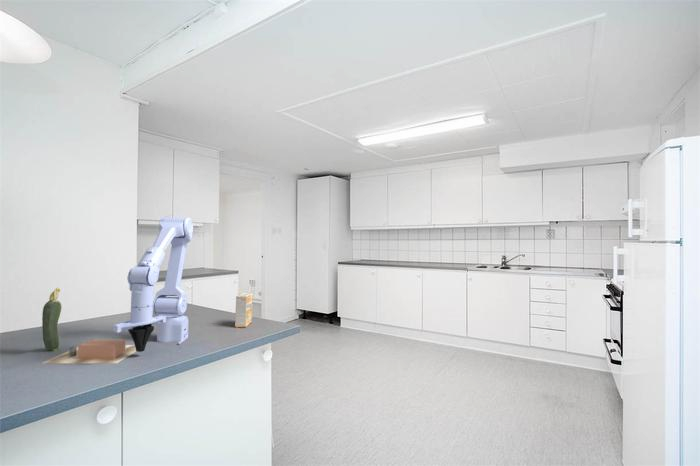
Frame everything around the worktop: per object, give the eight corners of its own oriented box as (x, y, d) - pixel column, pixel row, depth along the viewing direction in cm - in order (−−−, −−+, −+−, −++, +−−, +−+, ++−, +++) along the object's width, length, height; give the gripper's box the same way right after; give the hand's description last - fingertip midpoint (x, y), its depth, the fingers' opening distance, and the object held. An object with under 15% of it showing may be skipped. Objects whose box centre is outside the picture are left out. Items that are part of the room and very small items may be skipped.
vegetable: (43, 356, 101) (46, 289, 101) (38, 353, 103) (41, 288, 103) (61, 352, 104) (64, 288, 105) (56, 349, 107) (59, 286, 107)
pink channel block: (125, 352, 103) (125, 339, 103) (113, 359, 98) (114, 345, 98) (91, 352, 103) (92, 339, 103) (77, 358, 97) (78, 345, 97)
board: (146, 347, 111) (146, 337, 111) (116, 365, 95) (117, 354, 95) (82, 347, 109) (82, 337, 109) (41, 366, 93) (41, 354, 93)
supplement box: (246, 328, 138) (247, 296, 138) (234, 327, 138) (235, 295, 138) (252, 323, 146) (253, 293, 146) (241, 322, 146) (242, 292, 146)
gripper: (157, 300, 110) (155, 342, 109) (108, 308, 97) (106, 355, 97) (170, 303, 106) (169, 346, 106) (122, 311, 94) (120, 360, 93)
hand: (140, 350), depth 101 cm, fingers closed
